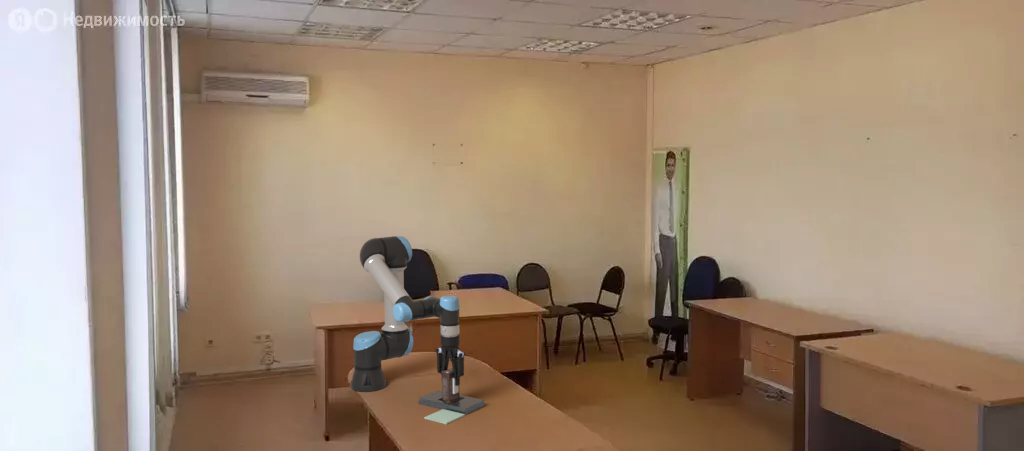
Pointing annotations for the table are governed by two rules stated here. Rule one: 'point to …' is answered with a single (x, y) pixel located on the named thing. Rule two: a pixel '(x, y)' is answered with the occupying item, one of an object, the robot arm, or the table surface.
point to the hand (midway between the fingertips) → (450, 391)
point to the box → (448, 386)
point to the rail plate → (460, 405)
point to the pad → (444, 416)
